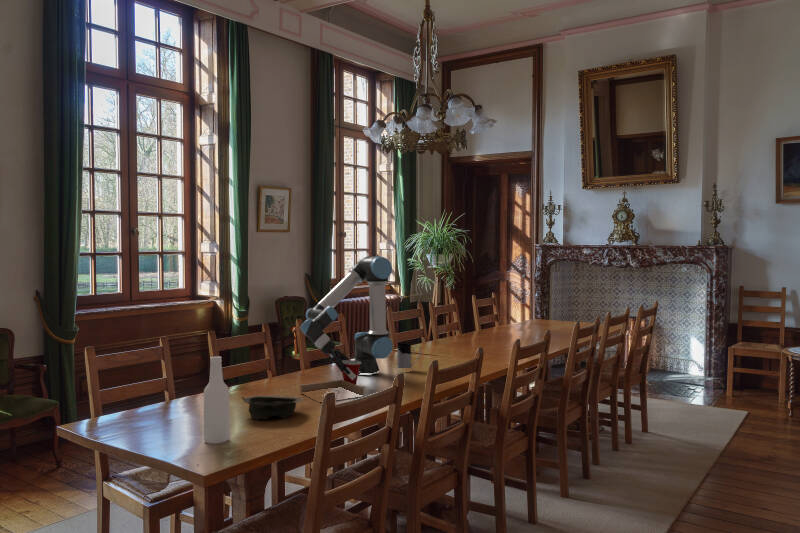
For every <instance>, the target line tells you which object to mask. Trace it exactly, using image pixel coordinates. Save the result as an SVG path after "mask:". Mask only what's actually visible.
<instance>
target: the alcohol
mask: <svg viewBox="0 0 800 533" xmlns="http://www.w3.org/2000/svg"><path fill="white" fill-rule="evenodd" d="M222 358H223V357H222V356H219V355H216V356H215V355H214V356H210V358H209V359H210V361H209V363H210V365H209V366H210V368H209V380H208V381H209V382H208V384H207V385H206V386H205V388H204V389H203V440H204V442H205V443H206V444H208V445H220V444H223V443H227V442H228V441H229V440H230V438H231V432H230V427H231V426H230V422H231V421H230V391H229V390H230V389H229V387H228V385H227V384H226V383H225V382H224V376H223V365H222ZM226 441H227V442H226Z"/></svg>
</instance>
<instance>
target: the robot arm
mask: <svg viewBox="0 0 800 533" xmlns="http://www.w3.org/2000/svg"><path fill="white" fill-rule="evenodd" d="M392 272H393V266H392V263H391V262H390V260H389V259H388V258H386V257H384V256H378V255H377V256H365V257H362V258H361V259H360V260H359V261H357V263H355V264H354V265H353V266H352V267H351V268H350V269H349V270H348V274H346V276H344V278H342V279H341V280H340V282H338V283H337V284H336V285H335V286H334V287H333V288H332V289H331V290H330V291H328V293H327V294H326V295H325V296H324V297H323V298H322V299H321V300H320V301H319V302H318V303H317V304H316V305H314V307H310V308H308V309H307V310H306V312H305V318H306V320H304V322H303V323H302V324H301V325H300V326H299V329H300V331H301V332H302V333H303V335H305V336H306V338H308V339H309V340H310V341H311V343H313V344H314V346H315V347H316V348H318V349H319V350H320V351H321V353H323V355H328V354H329V355H328V358H330V360H331V361H332V362H333V363H334V364H335V366H336V367H337V368H338V369H339V370H340V372H341V373H342V371H343V370H344V372H345V373H346V374H347V375H348V376H349V377H350V378H351V379H352V380H354V378H355V377H356V375H355V374H354V373H353V372H352V371H351V370H350V369H349V368H348V367H347V368H346V366H345V364H344V363H343V362H342V361H343V360H351V359H350V358H349V357H347V356H346V355H345V354H344V353H343V352H342V351H341V350H340V349H339V348H337V349H336V348H335V347H336V345H337V344H336V343H335V342H334V341H333V340H332V339H331V338H330V337H329V336H328V335H327V333H325V332H324V330H325V329H326V328H328V327H329V325H331V324H332V323H333V322H334V321H335V320H336V319H337V318H338V316H339V314H338V312H337V310H336V309H335V307H336V306H337V305H338V304H339V303H340V302H341V301H342V300H344V298H345V297H346V296H347V295H349V293H350V292H351V291H352V290H353V289H354V288H356V286H357V285H358V284H362V283H363V282H364V281H365V280H366V283H367V284H368V285H369V289H368V290H369V293H368V294H369V295H368V296H369V329H368V331H362V332H355V334H354V361H359V362H361V364H360V366H359V371H358V376H359V374H360V373H374V372H377V371H379V372H380V367H379V364H378V361H377V359H386V358H387V357H389V355H391V353H392V351H393V348H394V346H393V342H392V340H391V339H390V337H389V336H390V334H389V331H388V330H387V326H386V325H387V324H386V323H387V322H386V321H387V318H386V316H387V315H386V312H387V310H386V309H387V308H386V306H387V305H386V303H387V302H386V301H387V300H386V298H387V297H386V285H387V284H388V282H389V277H390V275H391V274H392Z"/></svg>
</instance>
